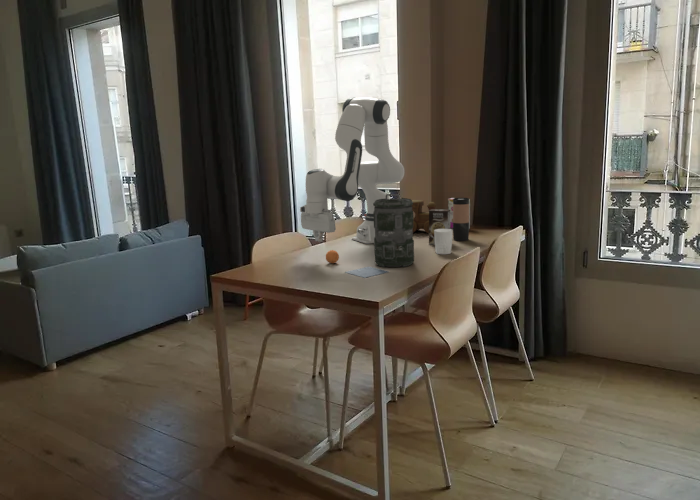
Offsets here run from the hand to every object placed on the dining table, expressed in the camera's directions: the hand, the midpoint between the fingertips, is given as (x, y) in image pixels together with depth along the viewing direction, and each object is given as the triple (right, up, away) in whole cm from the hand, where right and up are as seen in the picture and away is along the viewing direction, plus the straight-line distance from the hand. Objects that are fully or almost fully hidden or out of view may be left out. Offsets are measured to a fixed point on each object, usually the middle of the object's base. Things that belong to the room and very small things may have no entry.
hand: (318, 241), depth 225 cm
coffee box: (+55, -1, +27) cm, 61 cm away
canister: (+31, -9, -10) cm, 34 cm away
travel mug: (+67, +1, +34) cm, 75 cm away
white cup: (+54, -5, +7) cm, 54 cm away
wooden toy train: (+52, +6, +60) cm, 79 cm away
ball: (+6, -7, -5) cm, 10 cm away
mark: (+20, -12, -22) cm, 32 cm away
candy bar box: (+72, +7, +64) cm, 97 cm away
